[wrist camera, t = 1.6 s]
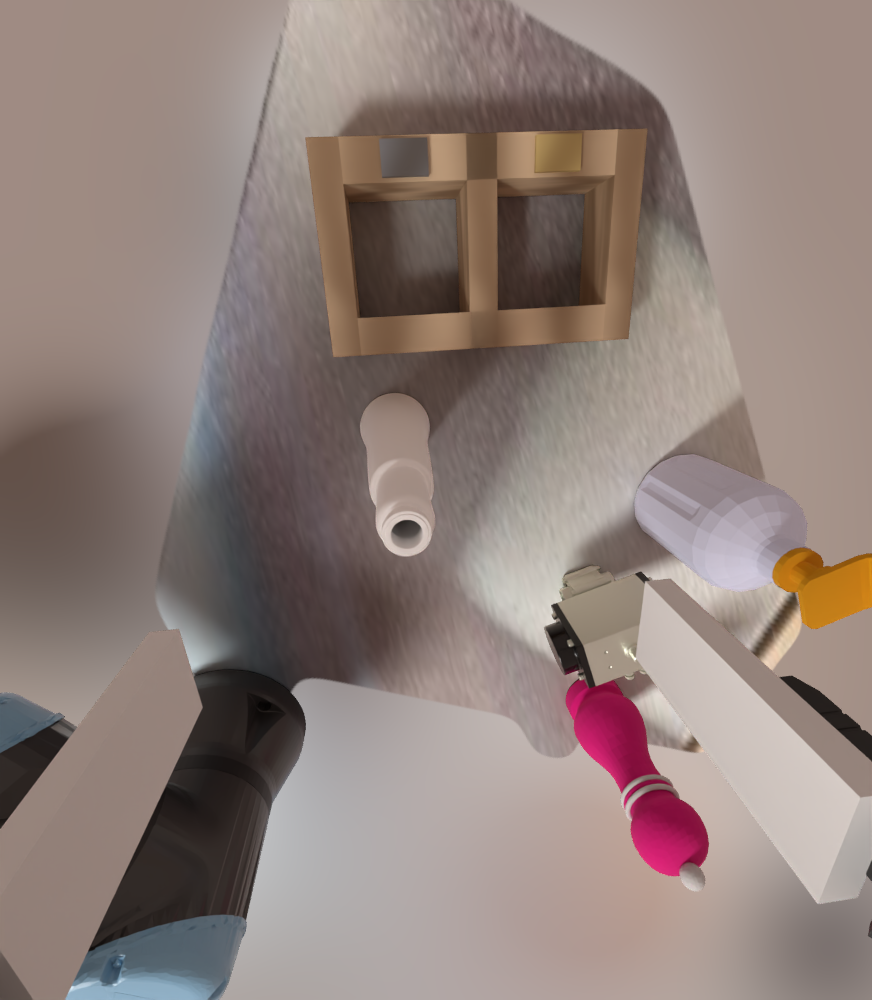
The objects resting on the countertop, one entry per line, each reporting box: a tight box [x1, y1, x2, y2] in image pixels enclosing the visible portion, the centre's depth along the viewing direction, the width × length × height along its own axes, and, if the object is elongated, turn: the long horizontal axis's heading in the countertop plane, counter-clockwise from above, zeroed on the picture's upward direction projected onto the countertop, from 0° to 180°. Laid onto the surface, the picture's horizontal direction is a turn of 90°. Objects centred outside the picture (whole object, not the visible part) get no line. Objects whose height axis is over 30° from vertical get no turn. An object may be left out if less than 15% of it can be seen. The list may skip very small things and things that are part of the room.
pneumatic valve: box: [544, 565, 653, 689], centre depth 43 cm, size 6×12×12 cm, turn 110°
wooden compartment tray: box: [305, 129, 647, 357], centre depth 34 cm, size 22×13×5 cm, turn 93°
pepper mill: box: [566, 679, 709, 891], centre depth 45 cm, size 7×7×20 cm
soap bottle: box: [634, 454, 872, 629], centre depth 35 cm, size 9×9×25 cm
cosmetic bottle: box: [360, 393, 435, 556], centre depth 31 cm, size 6×6×22 cm
